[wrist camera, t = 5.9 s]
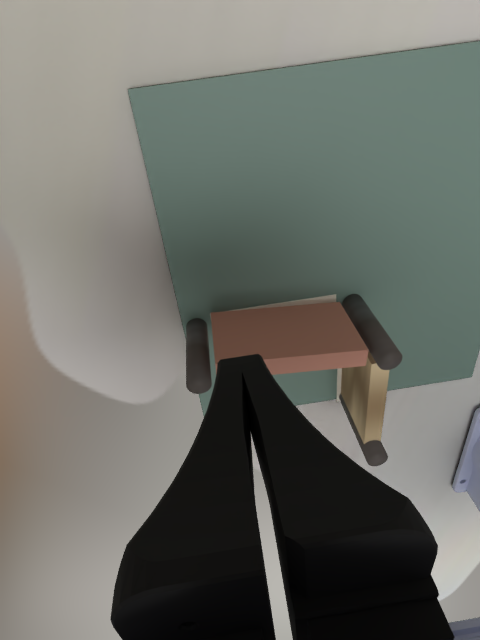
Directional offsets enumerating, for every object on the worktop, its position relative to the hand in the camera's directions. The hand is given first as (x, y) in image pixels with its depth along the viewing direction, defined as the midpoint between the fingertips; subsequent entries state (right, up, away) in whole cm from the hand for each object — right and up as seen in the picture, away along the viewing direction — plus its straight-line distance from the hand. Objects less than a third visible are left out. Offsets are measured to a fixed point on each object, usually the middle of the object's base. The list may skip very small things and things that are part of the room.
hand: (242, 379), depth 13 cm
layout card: (+5, +5, +7) cm, 10 cm away
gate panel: (+2, +2, +8) cm, 8 cm away
